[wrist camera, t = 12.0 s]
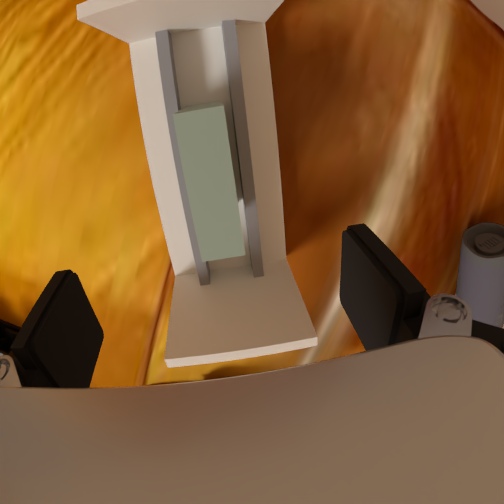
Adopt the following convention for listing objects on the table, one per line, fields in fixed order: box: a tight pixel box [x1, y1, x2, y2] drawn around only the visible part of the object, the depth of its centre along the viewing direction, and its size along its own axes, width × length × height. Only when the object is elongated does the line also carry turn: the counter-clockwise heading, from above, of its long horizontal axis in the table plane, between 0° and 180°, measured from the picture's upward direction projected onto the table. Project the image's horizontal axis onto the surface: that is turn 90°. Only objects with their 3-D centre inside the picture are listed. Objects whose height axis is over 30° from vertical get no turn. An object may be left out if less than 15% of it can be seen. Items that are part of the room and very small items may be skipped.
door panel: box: [173, 101, 246, 262], centre depth 24 cm, size 10×3×10 cm, turn 7°
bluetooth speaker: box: [455, 222, 504, 328], centre depth 39 cm, size 23×9×10 cm, turn 20°
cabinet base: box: [76, 0, 318, 368], centre depth 24 cm, size 26×12×14 cm, turn 6°
